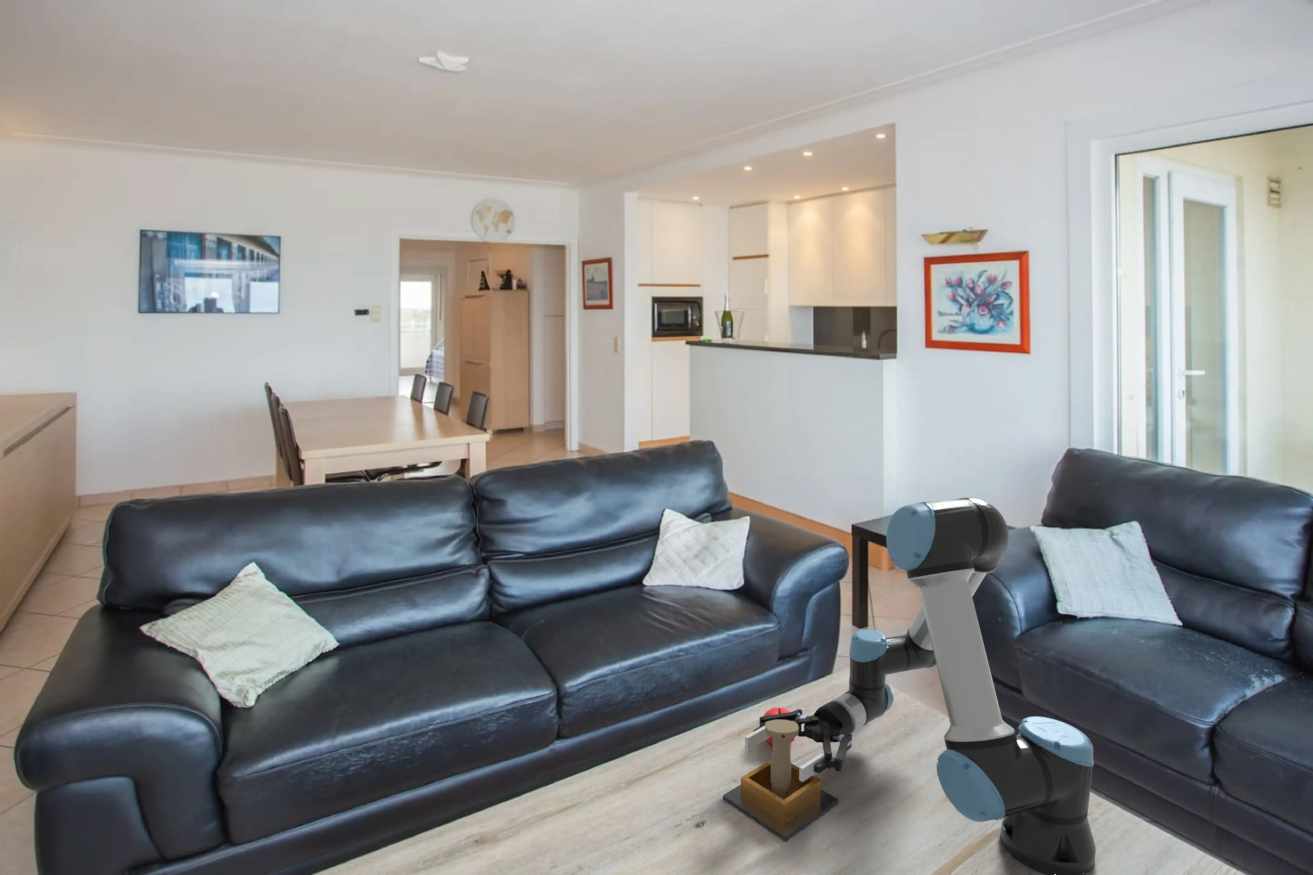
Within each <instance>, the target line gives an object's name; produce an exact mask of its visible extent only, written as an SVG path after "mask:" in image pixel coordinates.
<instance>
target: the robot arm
mask: <svg viewBox="0 0 1313 875" xmlns="http://www.w3.org/2000/svg"><path fill="white" fill-rule="evenodd" d="M1009 538H1010V536H1009V528H1008V525H1007V522H1006V520H1005V518H1004V516H1003V515H1002V513H1001V511H999V510H998V509H997V508H996V507H995V506H994V505H993V504H991V503H989V502H987V501H986V500H983V499H979V498H977V497H976V498H975V497H961V498H956V499H955V498H953V499H945V500H943V499H941V500H933V501H921V502H917V503H916V502H915V503H913V504H907V505H904V506H902V507H899V508H898V509H897V510H896V511H895V512H894V513H893V515H892V516H891V517H890V520H889V523H888V525H887V528H886V538H885V540H886V547H887V548H886V550H887V553H888V556H889V558H890V560H891V561H893V565H894V566H895V567H896V568H898V569H900V570H902V571H904V572H906V576H907V579H908V582H910V583H911V584H913V585H914V586H916V587H917V588H918V590H919V594H920V598H921V603H922V604H921V606H920V608H919V610H918V611H917V613H916V615H915V617H914V619H913V621H912V623H910V624H911V625H910V626H909V627H908V629H907V630H906V633H905V634H901V635H896V636H890V637H889V636H888V637H886V635H885V634H884V633H883V632H881V631H878V630H875V629H859V630H856V631H855V632H854V633H853V634H852V635H851V637H850V638H851V639H850V647H849V677H848V679H849V680H848V682H849V683H848V690H847V691H845V692H844V693H842V694H840V695H839V696H837V697H834V698H833V699H832V700H830V701H828V702H826V703H825V704H823V705H821V706H820V707H818V708H817V709H816V710H815V712H814V713H813V714H812V715H807V716H806V715H805V714H803V709H800V708H797V709H795V710H793V711H791V712H788V713H781V714H775V715H769V716H762V715H761V716H760V717H759V724H758V725H759V726H758V727H756V728H755V729H753V730H752V732H751V733H749V734H747V735H746V736H744V749H745V750H746V751H750V750H752V749H753V748H755V747H756V746H759V745H760V744H761V743H763V742H765V741H766V740H767V739H769V737H770V736H768V735H767V734H766V732H765V723H766V722H767V721H771V720H789V721H793V722H796V723H797V724H798V726H799V732H798V735H797V737H801V738H803V737H804V738H805V737H806V738H808V739H811V740H812V741H813V742H815V743H817V744H818V743H821V744H822V750H823V753H819V754H818V755H816V756H815V757H813V758H812V759H810V760H808V761H807V762H805V763H803V764H802V765H800V766H798V767H799V780H800V781H801V782H803V781H805V780H806V779H808V778H809V777H811V776H812V775H813V776H814V775H816V774H817V775H818V774H819V775H820V774H821V773H823V772H824V771H826V770H831V769H834V771H835V772H838V773H840V772H842V770H843V767H844V763H845V759H846V757H847V753H848V751H849V750H850V749H851V748H853V746H852V745H853V735H852V734H853V733H855V732H856V731H858V730H859V729H861V728H862V727H863V728H864V726H866V725H868V724H869V723H870V722H872V721H874V720H876V719H878V718H880V717H882V716H883V715H884V714H885V713H886V712H887V711H888V710H890V709H891V707H892V706H893V703H894V695H893V694H894V693H893V692H892V688H891V687H890V685H889V684H888V683H887V682H886V676H887V675H893V674H898V673H902V672H908V671H915V670H919V669H929V668H932V667H934V666H936V668H937V669H936V670H937V672H938V676H939V681H940V685H941V690H942V695H943V698H944V703H945V708H946V712H947V717H948V720H949V724H950V725H949V728H948V729H947V731H946V732H945V734H944V735H943V739H944V743H945V748H946V750H943V751H942V752H941V753H940V754H939V755H938V757H937V762H936V772H937V778H938V781H939V784H940V786H941V789H942V791H943V792H944V795H945V796H946V798H947V799H948V801H949V802H950V804H952V806H953V807H954V808H955V809H956V811H957V812H958V813H960V814H961V815H962V816H964V817H965V818H967V819H968V820H970V821H974V822H978V823H983V822H988V821H999V820H1002V821H1001V830H1000V838H1001V839H1000V840H1001V842H1002V844H1003V846H1004V847H1005V848H1006V850H1007V851H1008V853H1010V855H1012V856H1013V857H1014V859H1017V860H1018V861H1019V862H1021V863H1022V864H1024V865H1025V866H1027V867H1028V868H1029V867H1030V868H1031V869H1033V870H1035V871H1038V872H1041V873H1044V874H1047V875H1050V874H1056V875H1080V874H1083V873H1085V874H1087V873H1088V871H1089V872H1090V871H1091V870H1092V869H1093V867H1094V866H1095V863H1094V862H1095V861H1096V854H1097V852H1096V849H1097V848H1096V844H1095V840H1094V836H1093V833H1092V829H1091V826H1090V822H1089V818H1088V814H1089V804H1090V794H1091V787H1092V777H1093V768H1094V766H1095V761H1094V746H1093V743H1092V742H1091V740H1090V738H1089V737H1088V736H1087V735H1086V734H1085V733H1083V732H1082V731H1081V730H1080V729H1078V728H1076V727H1074V726H1072V725H1071V724H1068V723H1067V722H1063V721H1061V720H1057V719H1054V718H1050V717H1045V716H1039V715H1038V716H1037V715H1036V716H1027V717H1025V718H1023V719H1022V720H1021V722H1020V725H1019V726H1018V730H1019V733H1018V734H1016V730H1015V729H1014V728H1013V727H1012V726H1011V725H1009V724H1008V723H1006V722H1005V721H1004V720H1003V717H1002V712H1001V708H1000V706H999V701H998V698H997V692H996V690H995V684H994V681H993V677H992V673H991V668H990V664H989V661H988V657H987V652H986V649H985V644H984V640H983V637H982V636H983V635H982V632H981V628H980V624H979V620H978V616H977V612H976V607H975V602H974V598H973V596H974V594H975V593H976V591H977V590H978V588H979V587H980V585H981V583H982V582H983V580H984V579H985V576H986V575H987V574H990V573H993V572H995V570H996V569H997V568H998V566H999V565H1000V563H1001V562H1002V560H1003V558H1004V556H1005V554H1006V551H1007V549H1008V546H1009ZM802 726H803V731H802ZM831 743H839V746H838V749H837V752H836V754H835V757H833V752H832V745H831ZM1093 865H1094V866H1093ZM1091 868H1092V869H1091ZM1086 872H1087V873H1086ZM1083 875H1084V874H1083Z"/></svg>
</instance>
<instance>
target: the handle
mask: <svg viewBox="0 0 1313 875" xmlns="http://www.w3.org/2000/svg"><path fill="white" fill-rule="evenodd" d="M765 732H766V734H767V735H768V736H770V737H772V738H773V744H772V748H771V759H770V760H771V786H772V793H773V794H775V795H777V796H778V797H780V798H782V799H783V800H784V799H785V798H787V797H789V792H788V791H789V788H790V783H791V763H792V760H791V759H792V758H791V757H792V756H791V743H790V740H791V738H794V737H795V738H796V737H798V732H799V726H798V724H797V723H796V722H793V721H789V720H771V721H767V722H766V723H765Z"/></svg>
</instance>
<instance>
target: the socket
mask: <svg viewBox="0 0 1313 875" xmlns="http://www.w3.org/2000/svg"><path fill="white" fill-rule="evenodd" d="M799 767H800V766H796V764H794V763H792V762H791V783H790V788H789V791H788V792H789V797H787V798H785V799H784V800H783V799H782V798H780V797H778V796H777V795H775V794H773V793H772V786H771V759H769V760H768V761H766V762H764V763H763V764H761V765H759V766H758V767H756V768H755V769H752V770H751V771H749V772H748V773H746V774H744V775H742V776H741V777H740V784H739V785H737V786H736V787H734V788H732V789H731V790H729V791H727V792H725V793H724V794H723V795H722V800H723V801H724V802H725V803H727V804H728V805H729V806H731V807H733V808H735V809H736V810H738V811H739V812H741V813H742V814H744V815H745V816H747V817H748V818H750V819H751V820H753V821H754V822H756V824H758V825H759V826H761V827H762V828H764V829H765V830H767V831H769V832H770V833H771V834H773V835H775V836H776V837H777V838H779V839H780V840H782V841H783V842H787V841H789V840H790V839H792V838H793V837H794V836H795V835H797V834H799V833H800V832H801V831H803V830H804V829H806V828H807V827H808V826H810V825H811V824H813V823H814V822H815V821H817V820H818V819H820V818H821V817H822V816H824V815H825V814H826V813H828V812H829V811H831V810H832V809H833V808H836V807H837V806H838V805H839V804H840V802H839V801H840V799H839V798H837V797H836V796H834V795H832V794H831V793H829V792H827V791H826V790H823V789H822V788H821V787H822V780H821V778H820V779H819V778H818V777H816V776H814V775H812V776H811V777H809V778H808V779H806V780H805V781H803V782H801V781H800V780H799Z"/></svg>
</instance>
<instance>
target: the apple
mask: <svg viewBox="0 0 1313 875" xmlns="http://www.w3.org/2000/svg"><path fill="white" fill-rule="evenodd" d="M788 712H792V711H791V710H789V709H787V708H785V707H772V708H770V709H769V710H766V711H765V713H764V714H763V716H769V715H775V714H781V713H788ZM795 739H796V737H794V738H791V740H790V744H791V743H792V742H795ZM765 741H766V742H767V743H769V744H771V745H773V738H772V737H769V739H767V740H765Z"/></svg>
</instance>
